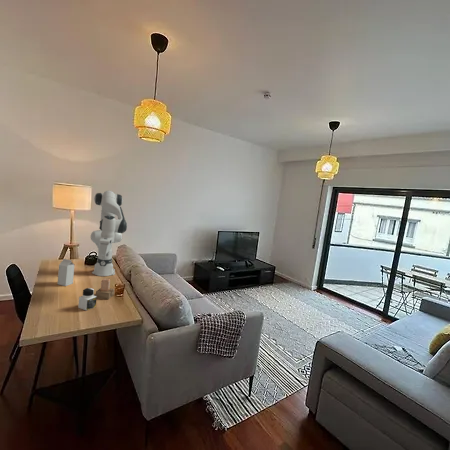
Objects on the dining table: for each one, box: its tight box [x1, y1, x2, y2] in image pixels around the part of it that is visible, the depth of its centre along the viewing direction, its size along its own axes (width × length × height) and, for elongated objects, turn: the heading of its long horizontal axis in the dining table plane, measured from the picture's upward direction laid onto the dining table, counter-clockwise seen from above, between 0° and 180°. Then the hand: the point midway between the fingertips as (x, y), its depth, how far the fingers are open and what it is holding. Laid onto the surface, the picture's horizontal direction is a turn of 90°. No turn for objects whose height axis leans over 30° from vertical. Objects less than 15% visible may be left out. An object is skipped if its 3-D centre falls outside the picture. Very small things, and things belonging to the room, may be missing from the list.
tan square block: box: [95, 287, 115, 301], centre depth 182 cm, size 9×9×5 cm
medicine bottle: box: [77, 287, 98, 311], centre depth 162 cm, size 7×7×12 cm
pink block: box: [100, 277, 111, 291], centre depth 182 cm, size 5×5×8 cm
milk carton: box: [57, 258, 75, 287], centre depth 194 cm, size 7×7×19 cm
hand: (105, 257), depth 183 cm, fingers open, 8 cm apart
